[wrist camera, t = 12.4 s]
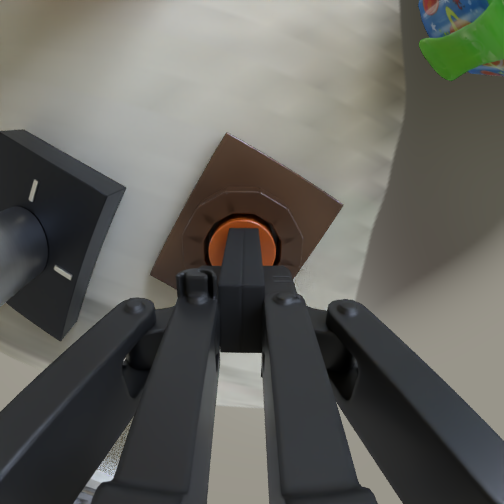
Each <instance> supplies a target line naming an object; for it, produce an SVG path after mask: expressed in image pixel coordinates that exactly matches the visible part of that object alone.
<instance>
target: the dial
mask: <svg viewBox="0 0 504 504" xmlns="http://www.w3.org/2000/svg"><path fill="white" fill-rule="evenodd" d="M47 257H48V246H47V240H46V236H45V233H44V231H43V228H42V226H41V225H40V223H39V221H38V220H37V219H36V217H35V216H34V215H33V214H32V213H31V212H30V211H28V210H27V209H25V208H22V207H18V206H14V207H10V208H8V209H5V210H3V211H1V212H0V307H1V306H2V305H3V304H4V303H5V302H6V301H8V300H9V299H10V298H11V297H12V296H13V295H15V294H16V293H17V292H18V291H19V290H21V289H22V288H23V287H24V286H26V285H27V284H28V283H29V282H30V281H32V280H33V279H34V278H35V277H37V276H38V275H39V274H40V273H41V272H42V271H43V270H44V268H45V266H46V262H47Z"/></svg>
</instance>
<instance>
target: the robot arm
mask: <svg viewBox="0 0 504 504" xmlns="http://www.w3.org/2000/svg"><path fill="white" fill-rule="evenodd" d="M176 284H177V295H178V299H177V302H176V304H175V306H173V307H170V308H164V309H157V310H155V307H154V303H153V302H152V301H151V300H148V299H145V298H130V299H128V300H125V301H123V302H121V303H120V304H118V305H117V306H116V307H115V308H113V309H112V310H111V311H110V312H109V313H108V314H106V315H105V316H104V317H103V318H102V319H101V320H100V321H98V322H97V323H96V324H95V325H94V326H93V327H92V328H90V329H89V330H88V331H87V332H86V333H85V334H84V335H82V336H81V337H80V338H79V339H78V340H77V341H76V342H75V343H73V344H72V345H71V346H70V347H69V348H68V349H67V350H66V351H64V352H63V353H62V354H61V355H60V356H59V357H58V358H57V359H56V360H55V361H53V362H52V363H51V364H50V365H49V366H48V367H47V368H46V369H45V370H44V371H43V372H42V373H40V374H39V375H38V376H37V377H36V378H35V379H34V380H33V381H32V382H31V383H30V384H29V385H28V386H27V387H26V388H24V389H23V391H21V392H20V393H19V394H18V395H17V396H16V397H15V398H14V399H13V400H12V401H11V402H10V403H9V404H8V405H7V406H6V407H5V408H4V409H3V410H2V411H1V412H0V504H207V494H208V482H209V471H210V459H211V448H212V437H213V426H214V416H215V406H216V396H217V386H218V377H219V367H220V352H232V353H262V368H261V377H263V393H264V411H265V429H266V449H267V468H268V488H269V504H378V503H377V501H376V498H375V496H374V494H373V493H372V492H371V490H370V489H369V488H365V487H362V486H361V485H360V484H359V482H358V479H357V476H356V472H355V468H354V464H353V461H352V457H351V453H350V450H349V446H348V442H347V439H346V435H345V432H344V428H343V425H342V421H341V418H340V414H339V411H338V407H337V404H338V405H339V407H340V408H341V410H342V412H343V413H344V415H345V416H346V418H347V419H348V421H349V422H350V424H351V425H352V427H353V428H354V430H355V431H356V433H357V434H358V436H359V438H360V439H361V440H362V442H363V444H364V445H365V447H366V448H367V450H368V451H369V453H370V454H371V456H372V457H373V459H374V460H375V462H376V463H377V465H378V466H379V468H380V470H381V471H382V473H383V474H384V475H385V477H386V479H387V480H388V482H389V483H390V485H391V486H392V488H393V489H394V491H395V492H396V493H397V495H398V497H399V498H400V500H401V501H402V503H403V504H504V441H503V440H502V439H501V438H500V437H499V436H498V434H497V433H495V431H494V430H493V429H492V428H491V427H490V426H489V425H488V424H487V423H486V422H485V421H484V420H483V419H482V418H481V417H480V416H479V415H478V414H477V413H476V412H475V411H474V410H473V409H472V408H471V407H470V406H469V405H468V404H467V403H466V402H465V401H464V400H463V399H462V398H461V397H460V396H459V395H458V394H457V393H456V392H455V391H454V390H453V389H452V388H451V387H450V386H449V385H448V384H447V383H446V382H445V381H444V380H443V379H442V378H441V377H439V375H437V374H436V373H435V372H434V371H433V370H432V369H431V368H430V367H429V366H428V365H427V364H426V363H425V362H424V361H423V360H422V359H421V358H420V357H419V356H418V355H416V353H415V352H413V351H412V350H411V349H410V348H409V347H408V346H407V345H406V344H405V343H404V342H403V341H402V340H401V339H400V338H399V337H397V336H396V335H395V334H394V333H393V332H392V331H391V330H390V329H389V328H388V327H387V326H386V325H385V324H384V323H382V322H381V321H380V320H379V319H378V318H377V317H376V316H375V315H374V314H373V313H372V312H370V311H369V310H368V309H367V308H366V307H365V306H363V305H362V304H360V303H358V302H356V301H354V300H348V299H343V300H336V301H332V302H331V303H330V304H329V305H328V310H327V311H325V310H319V309H314V308H311V307H308V306H306V303H305V300H304V298H303V297H302V296H301V295H299V294H297V292H296V289H295V285H294V282H293V279H292V275H291V272H290V270H289V269H287V268H286V267H285V266H263V263H262V255H261V246H260V237H259V229H258V228H229V231H228V236H227V241H226V246H225V251H224V256H223V260H222V265H221V266H201V267H199V268H191V269H187V270H183V271H181V272H179V273H178V274H177V275H176ZM125 357H126V360H125V361H124V362H123V360H124V358H125ZM336 402H337V404H336ZM133 416H134V418H133ZM132 418H133V421H132V424H131V427H130V430H129V433H128V436H127V439H126V442H125V445H124V448H123V451H122V454H121V457H120V461H119V464H118V467H117V470H116V473H115V476H114V478H113V479H112V480H111V481H106V482H102V483H101V484H100V485H99V486H98V487H97V489H93V488H90V487H87V486H86V484H87V483H88V481H89V480H90V478H91V477H92V476H93V474H94V473H95V471H96V470H97V468H98V467H99V465H100V464H101V462H102V461H103V460H104V458H105V457H106V455H107V454H108V452H109V451H110V449H111V448H112V447H113V445H114V444H115V442H116V441H117V439H118V438H119V436H120V435H121V434H122V432H123V431H124V429H125V428H126V426H127V425H128V424H129V422H130V421H131V419H132Z"/></svg>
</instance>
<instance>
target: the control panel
mask: <svg viewBox="0 0 504 504" xmlns="http://www.w3.org/2000/svg"><path fill="white" fill-rule="evenodd" d="M125 189H126V187H124V186H123V185H121V184H119V183H117V182H115V181H114V180H112V179H110V178H108V177H107V176H105V175H103V174H101V173H99V172H98V171H96V170H94V169H92V168H91V167H89V166H87V165H85V164H84V163H82V162H80V161H78V160H76V159H75V158H73V157H71V156H69V155H68V154H66V153H64V152H62V151H61V150H59V149H57V148H55V147H54V146H52V145H50V144H48V143H47V142H45V141H43V140H41V139H39V138H38V137H36V136H34V135H32V134H31V133H29V132H27V131H25V130H9V131H0V212H1V211H3V210H5V209H8V208H10V207H14V206H18V207H22V208H25V209H27V210H28V211H30V212H31V213H32V214H33V215H34V216H35V217H36V219H37V220H38V221H39V223H40V225H41V226H42V228H43V231H44V233H45V236H46V240H47V246H48V257H47V262H46V266H45V268H44V270H43V271H42V272H41V273H40V274H39V275H38V276H37V277H35V278H34V279H33V280H32V281H30V282H29V283H28V284H27V285H26V286H24V287H23V288H22V289H21V290H19V291H18V292H17V293H16V294H15V295H13V296H12V297H11V298H10V299H9V300H8V301H6V303H7V304H8V305H10V306H11V307H12V308H13V309H15V310H16V311H17V312H19V313H20V314H21V315H23V316H24V317H26V318H27V319H28V320H30V321H31V322H32V323H34V324H35V325H37V326H38V327H40V328H41V329H42V330H44V331H45V332H47V333H48V334H50V335H51V336H53V337H54V338H56V339H57V340H59V341H62V339H63V338H64V337H65V336H66V334H67V333H68V332H69V330H70V329H71V328H72V327H73V325H74V324H75V323H76V322H77V319H78V315H79V312H80V309H81V305H82V302H83V299H84V296H85V293H86V290H87V287H88V284H89V281H90V278H91V275H92V272H93V269H94V266H95V263H96V261H97V258H98V255H99V252H100V250H101V247H102V244H103V242H104V239H105V237H106V234H107V232H108V229H109V227H110V224H111V222H112V219H113V217H114V215H115V212H116V210H117V208H118V205H119V203H120V201H121V198H122V196H123V194H124V192H125Z"/></svg>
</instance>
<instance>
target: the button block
mask: <svg viewBox="0 0 504 504" xmlns="http://www.w3.org/2000/svg"><path fill="white" fill-rule="evenodd" d="M342 207H343V204H342V203H341V202H339V201H338V200H336V199H335V198H333V197H332V196H330V195H329V194H327V193H326V192H324V191H323V190H321V189H320V188H318V187H317V186H315V185H314V184H312V183H311V182H309V181H308V180H306V179H304V178H303V177H301V176H300V175H298V174H297V173H295V172H293V171H292V170H290V169H289V168H287V167H285V166H284V165H282V164H280V163H279V162H277V161H276V160H274V159H272V158H271V157H269V156H267V155H266V154H264V153H262V152H261V151H259V150H257V149H256V148H254V147H252V146H250V145H249V144H247V143H245V142H243V141H242V140H240V139H238V138H236V137H235V136H233V135H231V134H229V133H226V134H225V136H224V137H223V139H222V141H221V142H220V144H219V146H218V147H217V149H216V151H215V152H214V154H213V156H212V157H211V159H210V161H209V163H208V164H207V166H206V168H205V170H204V171H203V173H202V175H201V177H200V178H199V180H198V182H197V184H196V186H195V187H194V189H193V191H192V193H191V195H190V196H189V198H188V200H187V202H186V204H185V206H184V208H183V209H182V211H181V213H180V215H179V217H178V219H177V221H176V223H175V225H174V226H173V228H172V230H171V232H170V234H169V236H168V238H167V240H166V242H165V244H164V246H163V248H162V250H161V252H160V254H159V256H158V258H157V260H156V262H155V264H154V266H153V268H152V270H151V272H150V275H151V276H153V277H155V278H157V279H158V280H160V281H162V282H164V283H166V284H167V285H169V286H171V287H173V288H175V289H177V284H176V275H177V274H178V273H179V272H181V271H183V270H187V269H191V268H199V267H201V266H212V264H211V262H210V259H209V253H208V250H209V243H210V240H211V237H212V235H213V232H214V230H215V228H216V226H217V225H218V224H219V222H220V221H222V220H223V219H224V218H226V217H227V216H229V215H232V214H253V215H256V216H258V217H259V218H261V219H262V220H264V221H265V222H266V223H267V225H268V226H269V228H270V229H271V231H272V234H273V238H274V242H275V246H276V257H275V261H274V263H273V266H285V267H286V268H287V269H289V270H290V272H291V275H292V279H294V277H295V276H296V274H297V273H298V272H299V270H300V269H301V267H302V266H303V264H304V263H305V262H306V260H307V259H308V257H309V256H310V254H311V253H312V251H313V250H314V249H315V247H316V246H317V244H318V243H319V241H320V240H321V238H322V237H323V235H324V234H325V232H326V231H327V229H328V228H329V226H330V225H331V223H332V222H333V220H334V219H335V217H336V216H337V214H338V213H339V211H340V210H341V208H342Z"/></svg>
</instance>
